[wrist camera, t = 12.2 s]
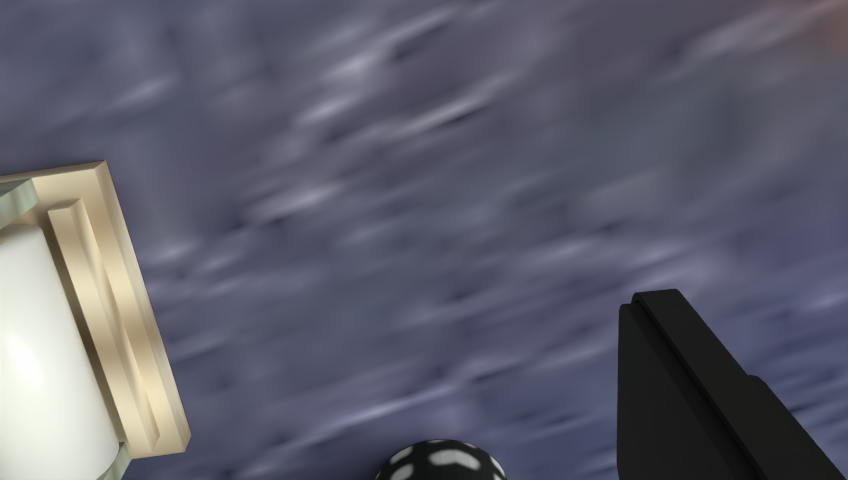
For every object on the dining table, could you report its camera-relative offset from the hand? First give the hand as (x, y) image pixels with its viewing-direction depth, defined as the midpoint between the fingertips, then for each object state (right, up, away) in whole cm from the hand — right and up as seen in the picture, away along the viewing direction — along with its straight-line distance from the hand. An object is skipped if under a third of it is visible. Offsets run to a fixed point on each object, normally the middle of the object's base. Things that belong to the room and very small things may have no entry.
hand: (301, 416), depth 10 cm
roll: (-18, -2, +27) cm, 33 cm away
